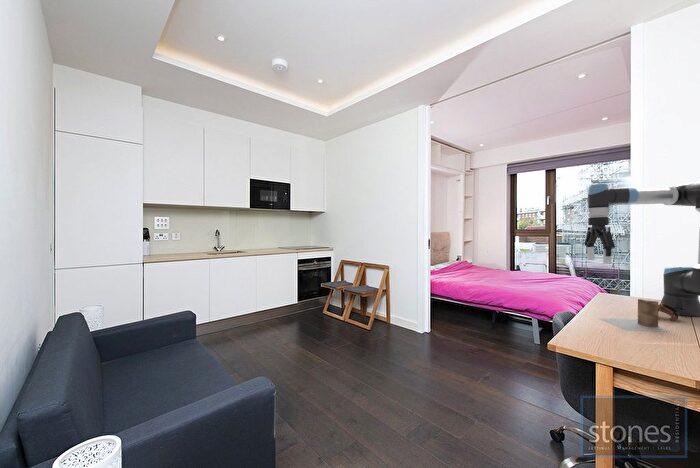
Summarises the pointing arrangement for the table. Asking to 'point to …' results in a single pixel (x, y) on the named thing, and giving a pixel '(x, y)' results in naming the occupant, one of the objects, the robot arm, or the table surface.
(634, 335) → the table surface
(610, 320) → the mat
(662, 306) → the brown curved arch
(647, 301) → the walnut block
